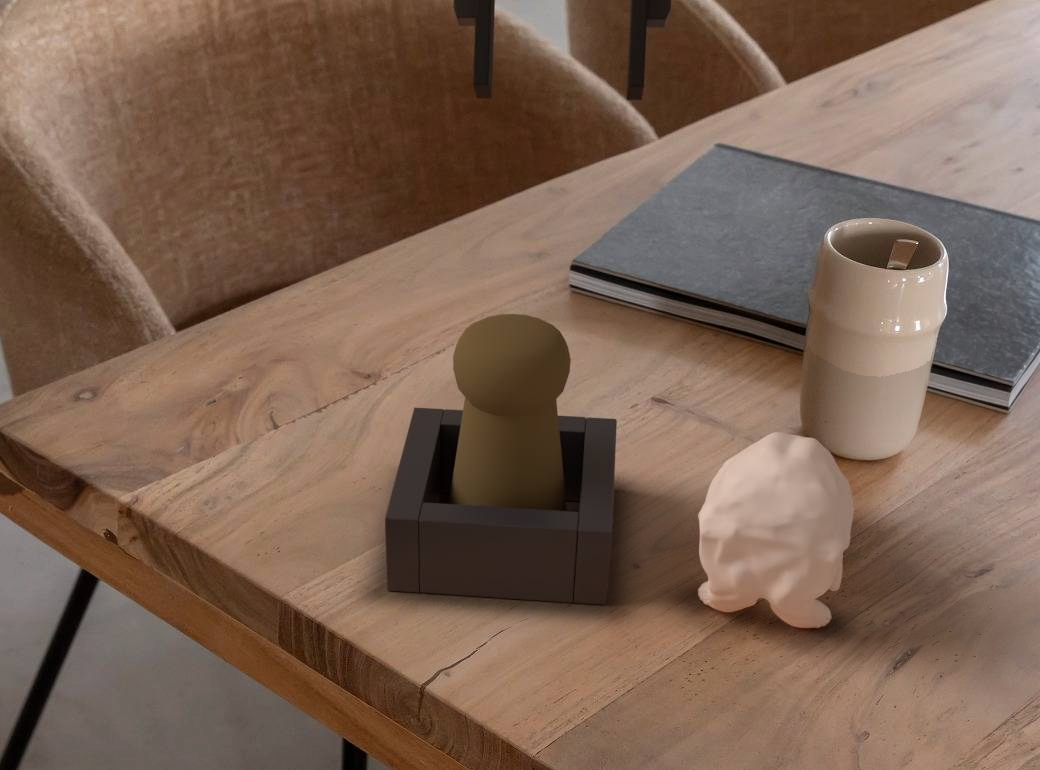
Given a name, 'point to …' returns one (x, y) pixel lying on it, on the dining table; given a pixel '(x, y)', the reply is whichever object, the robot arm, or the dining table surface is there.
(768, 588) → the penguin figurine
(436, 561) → the socket base
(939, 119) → the dining table surface
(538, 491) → the cork
